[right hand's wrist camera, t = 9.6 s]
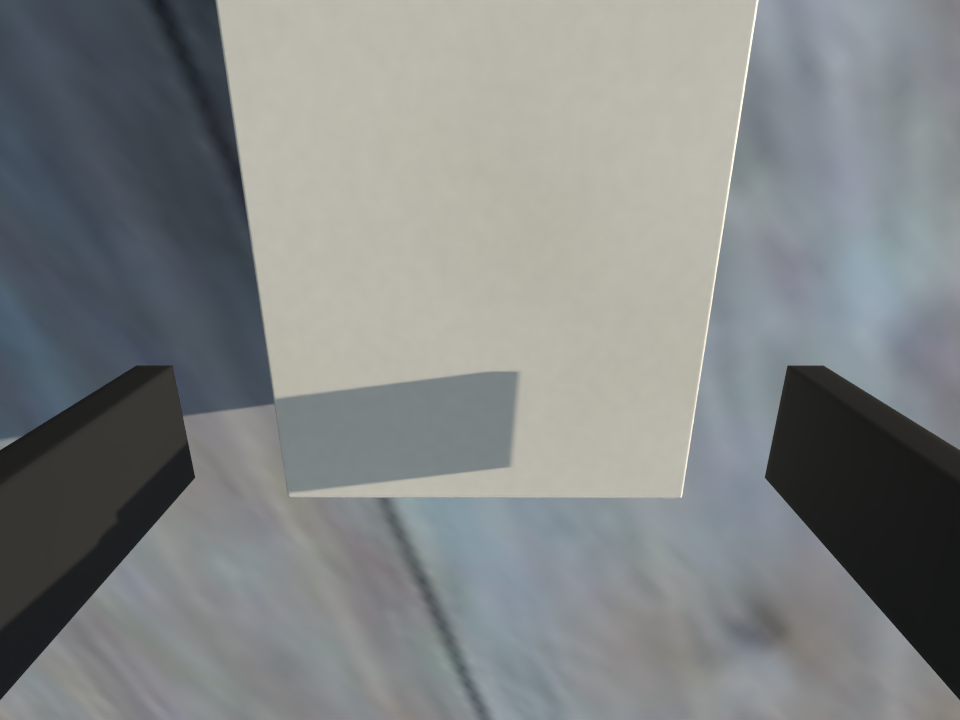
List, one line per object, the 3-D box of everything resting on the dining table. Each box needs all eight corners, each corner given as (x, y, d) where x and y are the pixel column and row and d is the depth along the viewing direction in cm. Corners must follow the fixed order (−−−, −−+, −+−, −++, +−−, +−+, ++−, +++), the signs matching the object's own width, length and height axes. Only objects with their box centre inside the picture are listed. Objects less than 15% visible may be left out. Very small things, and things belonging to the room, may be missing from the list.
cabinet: (309, -287, 17) (93, -824, 8) (662, -288, 17) (888, -829, 8) (362, 361, 25) (286, 498, 15) (605, 361, 25) (682, 499, 15)
